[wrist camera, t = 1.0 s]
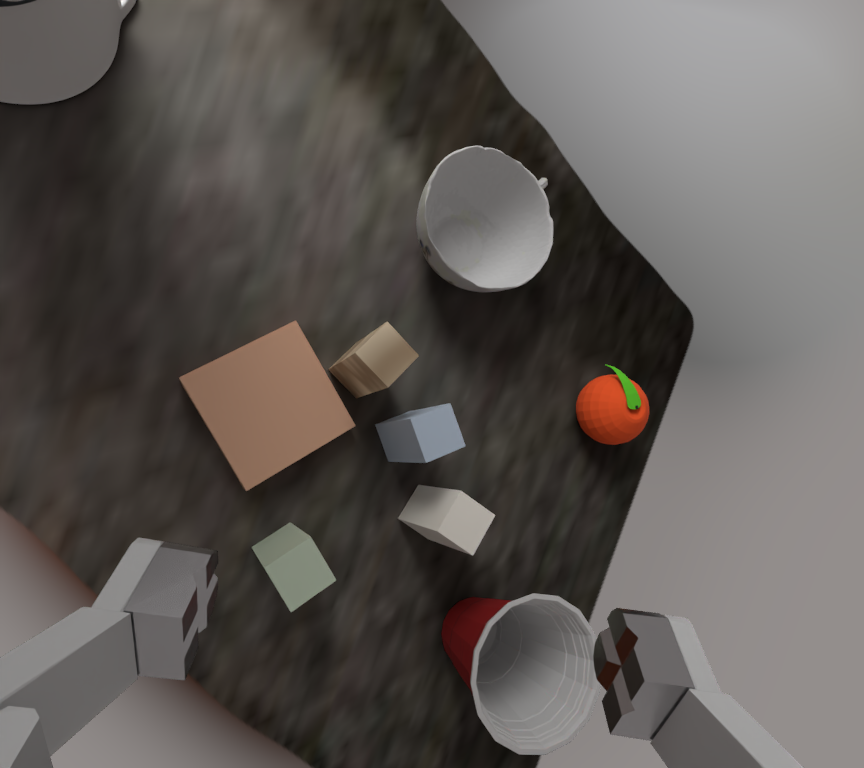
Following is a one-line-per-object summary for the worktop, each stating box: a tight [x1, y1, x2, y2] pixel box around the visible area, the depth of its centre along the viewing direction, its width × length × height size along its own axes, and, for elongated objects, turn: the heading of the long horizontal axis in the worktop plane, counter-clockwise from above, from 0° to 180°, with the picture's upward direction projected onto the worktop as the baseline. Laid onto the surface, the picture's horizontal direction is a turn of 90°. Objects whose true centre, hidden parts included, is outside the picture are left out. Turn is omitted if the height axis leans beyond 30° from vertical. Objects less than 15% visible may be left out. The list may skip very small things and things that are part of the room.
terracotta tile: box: [179, 321, 356, 491], centre depth 47 cm, size 10×10×2 cm
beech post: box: [328, 322, 419, 398], centre depth 47 cm, size 4×4×9 cm
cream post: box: [398, 485, 495, 556], centre depth 47 cm, size 4×4×9 cm
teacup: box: [416, 146, 553, 292], centre depth 53 cm, size 15×12×8 cm
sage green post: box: [251, 522, 336, 612], centre depth 42 cm, size 4×4×9 cm
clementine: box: [576, 364, 649, 445], centre depth 57 cm, size 8×7×7 cm
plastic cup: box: [441, 593, 600, 755], centre depth 46 cm, size 11×11×12 cm
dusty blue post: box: [375, 403, 465, 463], centre depth 47 cm, size 4×4×9 cm
